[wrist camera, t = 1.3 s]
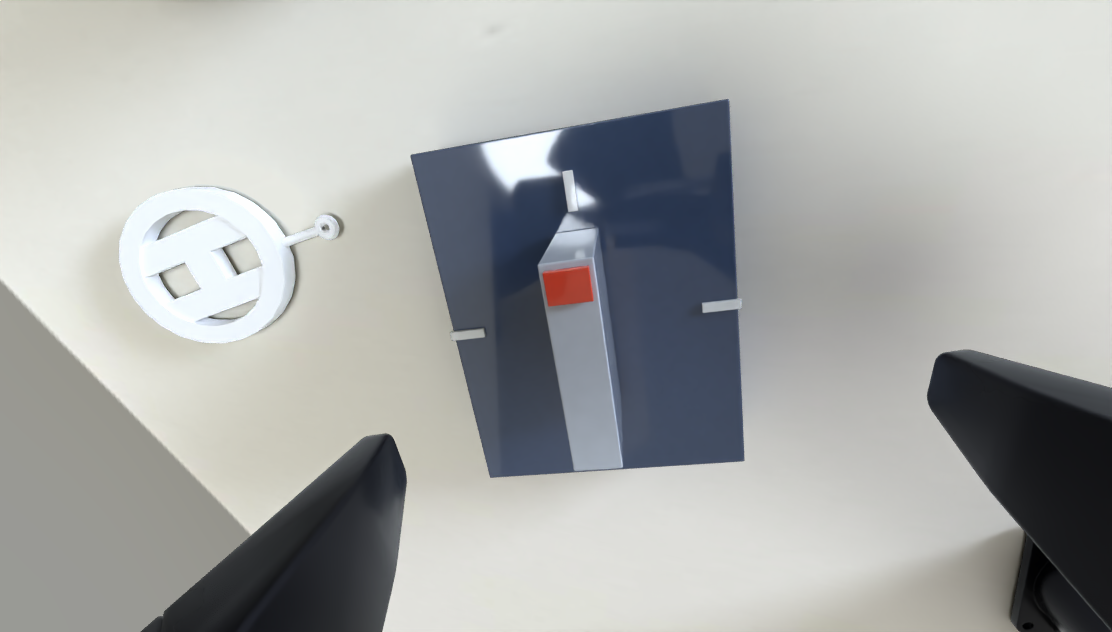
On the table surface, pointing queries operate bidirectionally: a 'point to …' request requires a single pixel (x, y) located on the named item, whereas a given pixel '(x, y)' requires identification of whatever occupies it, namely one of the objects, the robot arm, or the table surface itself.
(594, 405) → the gray bar
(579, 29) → the table surface
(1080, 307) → the table surface
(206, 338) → the pendant
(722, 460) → the tap base
